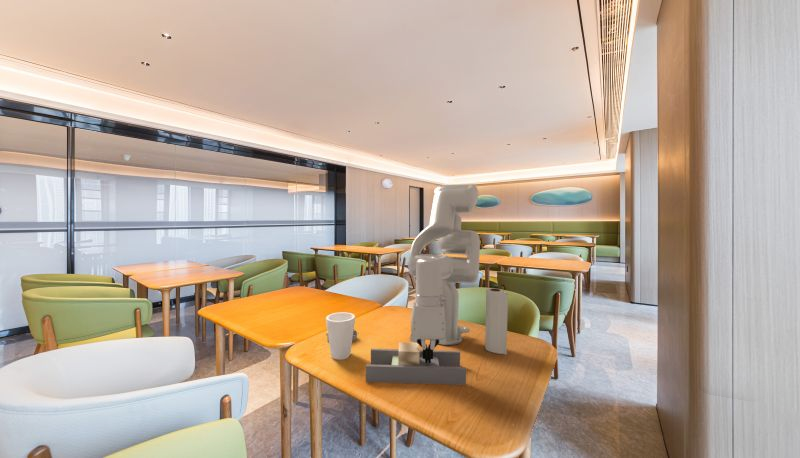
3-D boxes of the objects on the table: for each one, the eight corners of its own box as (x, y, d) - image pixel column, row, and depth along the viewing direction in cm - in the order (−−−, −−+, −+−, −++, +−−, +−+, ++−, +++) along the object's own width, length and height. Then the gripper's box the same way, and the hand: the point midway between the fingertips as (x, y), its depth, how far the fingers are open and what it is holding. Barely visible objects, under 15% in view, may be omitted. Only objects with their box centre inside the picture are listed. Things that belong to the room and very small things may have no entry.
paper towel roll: (483, 345, 106) (484, 287, 106) (499, 346, 106) (501, 287, 105) (488, 354, 99) (489, 292, 98) (506, 355, 99) (507, 292, 98)
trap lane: (459, 364, 92) (459, 350, 92) (465, 384, 81) (466, 368, 81) (371, 362, 93) (371, 348, 93) (365, 381, 82) (365, 366, 82)
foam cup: (340, 364, 92) (340, 323, 91) (320, 357, 97) (320, 318, 96) (360, 353, 100) (360, 315, 99) (340, 346, 105) (340, 310, 104)
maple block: (418, 358, 90) (418, 342, 90) (419, 368, 84) (419, 351, 84) (398, 358, 90) (399, 342, 90) (398, 368, 84) (398, 351, 84)
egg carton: (332, 348, 104) (332, 336, 104) (324, 340, 110) (324, 330, 110) (359, 340, 110) (359, 330, 110) (350, 334, 117) (350, 324, 116)
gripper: (452, 296, 90) (451, 355, 90) (403, 296, 90) (402, 354, 91) (456, 304, 82) (455, 368, 83) (402, 303, 83) (402, 366, 83)
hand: (427, 360), depth 87 cm, fingers closed
